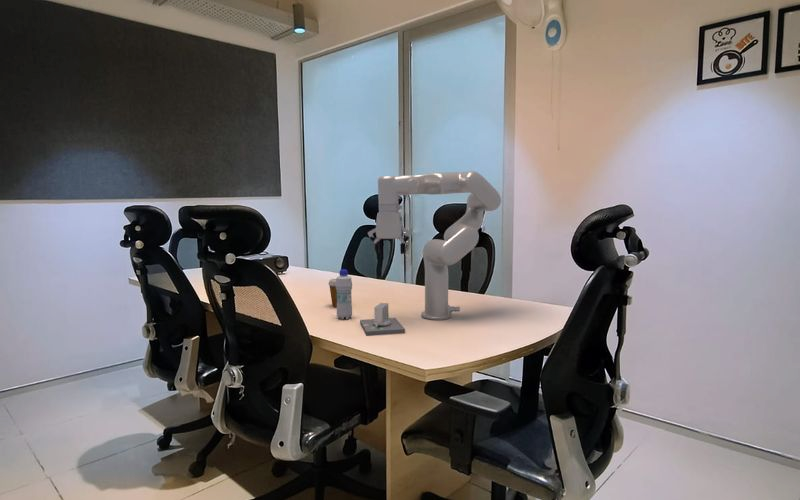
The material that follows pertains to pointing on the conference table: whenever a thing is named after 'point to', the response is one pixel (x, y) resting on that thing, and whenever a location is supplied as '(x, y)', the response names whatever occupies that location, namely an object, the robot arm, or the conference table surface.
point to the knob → (381, 315)
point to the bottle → (344, 295)
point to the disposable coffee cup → (333, 292)
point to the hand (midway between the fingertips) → (390, 253)
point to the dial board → (382, 327)
